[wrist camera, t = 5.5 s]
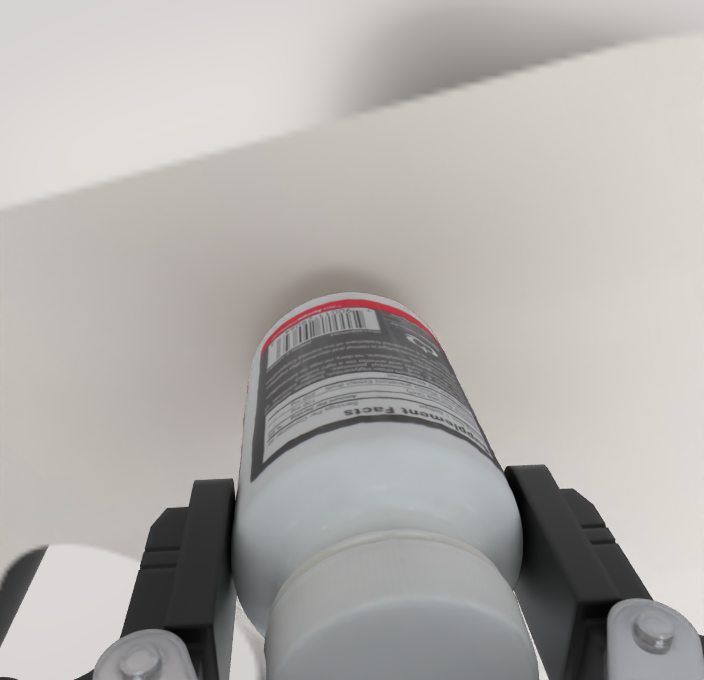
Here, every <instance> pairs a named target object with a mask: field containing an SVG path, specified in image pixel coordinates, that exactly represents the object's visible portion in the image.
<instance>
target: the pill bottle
mask: <svg viewBox="0 0 704 680" xmlns="http://www.w3.org/2000/svg"><path fill="white" fill-rule="evenodd" d="M522 557H523V529H522V523H521V518H520V514H519V510H518V507H517V504H516V501H515V498H514V495H513V493H512V490H511V488H510V486H509V484H508V482H507V479H506V477H505V474H504V472H503V470H502V468H501V466H500V464H499V463H498V461H497V459H496V457H495V455H494V452H493V450H492V449H491V447H490V445H489V443H488V441H487V438H486V436H485V434H484V432H483V430H482V428H481V426H480V424H479V423H478V421H477V418H476V416H475V414H474V412H473V409H472V408H471V406H470V404H469V402H468V400H467V398H466V396H465V394H464V392H463V390H462V388H461V386H460V384H459V382H458V380H457V377H456V375H455V373H454V371H453V368H452V366H451V364H450V363H449V361H448V359H447V356H446V354H445V352H444V351H443V349H442V347H441V346H440V344H439V342H438V340H437V338H436V336H435V335H434V333H433V332H432V331H431V329H430V328H429V327H428V325H427V324H426V323H425V322H424V321H423V320H422V319H421V318H420V317H419V316H417V315H416V314H414V313H413V312H412V311H410V310H409V309H408V308H407V307H405V306H403V305H401V304H400V303H398V302H396V301H394V300H391V299H389V298H385V297H381V296H377V295H372V294H367V293H361V292H343V293H336V294H331V295H326V296H322V297H319V298H316V299H313V300H311V301H308V302H306V303H304V304H302V305H300V306H298V307H296V308H295V309H293V310H291V311H290V312H289V313H287V314H286V315H285V316H283V317H282V318H281V319H280V320H279V321H278V322H276V323H275V325H274V326H273V327H272V328H271V329H270V330H269V331H268V333H267V334H266V335H265V337H264V339H263V340H262V342H261V343H260V345H259V347H258V349H257V352H256V354H255V356H254V359H253V362H252V366H251V370H250V375H249V381H248V389H247V400H246V405H245V414H244V422H243V438H242V448H241V463H240V470H239V480H238V489H237V495H236V502H235V510H234V517H233V524H232V532H231V568H232V576H233V581H234V585H235V589H236V592H237V595H238V598H239V601H240V603H241V605H242V607H243V609H244V612H245V614H246V615H247V617H248V618H249V620H250V621H251V623H252V624H253V625H254V627H255V628H256V629H257V630H258V632H259V633H260V634H261V635H262V636H263V637H264V638H265V644H264V653H265V659H266V680H539V672H538V661H537V658H536V654H535V651H534V647H533V645H532V642H531V639H530V636H529V633H528V631H527V628H526V625H525V622H524V619H523V617H522V614H521V612H520V608H519V605H518V602H517V598H516V596H515V595H514V593H513V591H514V588H515V585H516V583H517V580H518V576H519V573H520V569H521V564H522Z"/></svg>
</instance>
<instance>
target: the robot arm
mask: <svg viewBox="0 0 704 680" xmlns="http://www.w3.org/2000/svg"><path fill="white" fill-rule="evenodd" d="M504 474H505V477H506V479H507V482H508V484H509V486H510V488H511V490H512V493H513V495H514V498H515V501H516V504H517V507H518V510H519V514H520V518H521V523H522V529H523V557H522V564H521V569H520V573H519V576H518V580H517V583H516V585H515V588H514V592H515V594H516V597H517V599H518V602H519V604H520V607H521V610H522V612H523V615H524V617H525V620H526V622H527V625H528V627H529V630H530V632H531V635H532V638H533V640H534V643H535V645H536V648H537V650H538V653H539V655H540V658H541V660H542V663H543V666H544V668H545V671H546V673H547V676H548V678H549V680H704V636H702V635H699V634H698V633H697V631H696V630H695V628H694V627H693V626H692V624H691V623H690V622H689V621H688V620H687V619H686V618H685V617H684V616H682V615H681V614H680V613H678V612H677V611H675V610H674V609H672V608H670V607H668V606H666V605H664V604H662V603H659V602H656V601H654V600H653V599H652V597H651V596H650V594H649V593H648V591H647V589H646V588H645V586H644V585H643V583H642V581H641V580H640V578H639V577H638V575H637V573H636V572H635V570H634V569H633V567H632V565H631V564H630V562H629V561H628V559H627V557H626V556H625V554H624V553H623V551H622V549H621V548H620V546H619V545H618V544H616V542H615V538H614V537H613V535H612V534H611V532H610V530H609V529H608V528H606V526H605V522H604V521H603V519H602V518H601V516H600V514H599V513H598V511H597V510H596V508H595V506H594V505H593V504H592V503H591V502H589V501H588V500H587V499H586V498H584V497H583V496H582V495H580V494H579V493H578V492H577V491H575V490H574V489H559V487H558V485H557V484H556V482H555V480H554V478H553V477H552V475H551V473H550V471H549V470H548V468H547V467H546V466H545V465H522V466H507V467H506V468H505V471H504ZM235 502H236V501H235V490H234V482H233V479H211V480H195V481H194V484H193V488H192V493H191V498H190V503H189V507H179V508H167V509H166V510H165V511H164V512H163V513H162V514H161V516H160V517H159V518H158V519H157V520H156V521H155V523H154V524H153V525H152V526H151V528H150V531H149V535H148V539H147V542H146V546H145V552H144V553H143V557H142V561H141V564H140V570H139V572H138V575H137V579H136V582H135V586H134V590H133V593H132V597H131V601H130V605H129V608H128V611H127V615H126V619H125V623H124V626H123V630H122V634H121V636H120V639H119V640H117V641H116V642H115V643H113V644H112V645H111V646H110V647H109V648H108V649H107V650H106V651H105V652H104V653H103V654H102V655H101V657H100V658H99V660H98V662H97V664H96V666H95V669H93V670H92V671H90V672H89V673H87V674H85V675H83V676H81V677H79V678H77V679H75V680H229V673H230V663H231V652H232V641H233V631H234V630H233V629H234V620H235V609H236V598H237V592H236V589H235V585H234V581H233V576H232V568H231V532H232V524H233V517H234V510H235ZM0 680H17V679H14V678H9V677H0Z"/></svg>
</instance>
